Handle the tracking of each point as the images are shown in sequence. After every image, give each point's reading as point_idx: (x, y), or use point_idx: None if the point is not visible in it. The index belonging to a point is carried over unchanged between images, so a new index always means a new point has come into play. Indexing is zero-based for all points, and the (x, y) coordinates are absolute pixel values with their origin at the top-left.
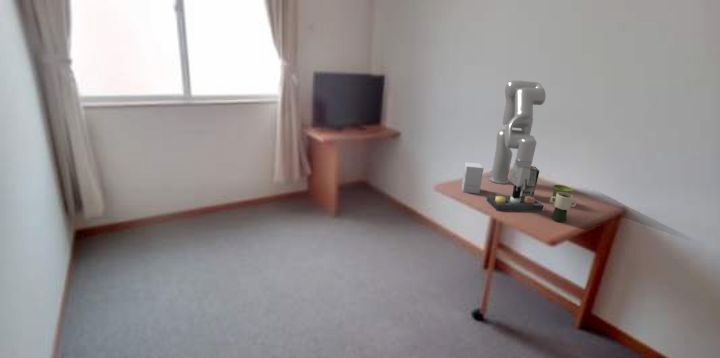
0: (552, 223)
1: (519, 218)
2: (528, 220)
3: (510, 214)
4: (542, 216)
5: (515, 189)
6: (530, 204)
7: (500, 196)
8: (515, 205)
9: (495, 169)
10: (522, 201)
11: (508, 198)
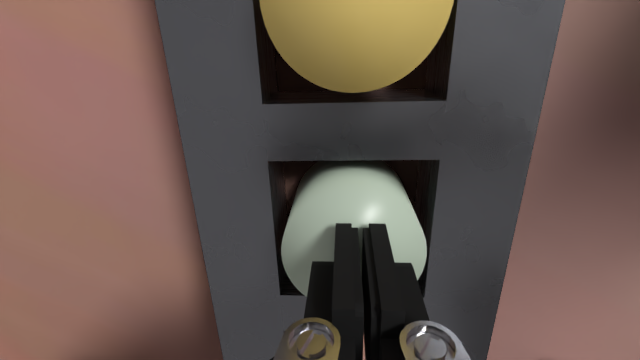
0: (22, 330)
1: (17, 100)
2: (2, 172)
3: (96, 40)
4: (139, 328)
5: (383, 346)
6: (242, 339)
7: (420, 19)
8: (188, 162)
9: None
10: None
11: (435, 183)
